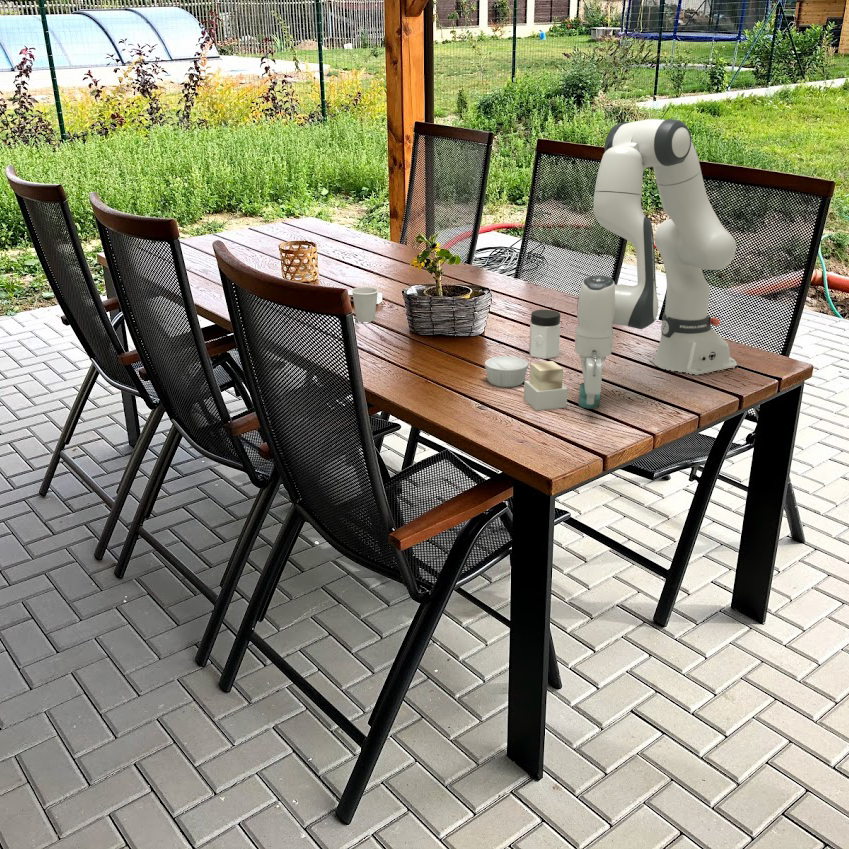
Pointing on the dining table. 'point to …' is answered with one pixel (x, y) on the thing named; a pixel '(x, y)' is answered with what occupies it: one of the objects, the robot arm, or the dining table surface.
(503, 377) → the ramekin
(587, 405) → the teal cylinder
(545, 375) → the birch top block
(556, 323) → the jar
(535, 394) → the grey base block
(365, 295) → the dixie cup
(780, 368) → the dining table surface
